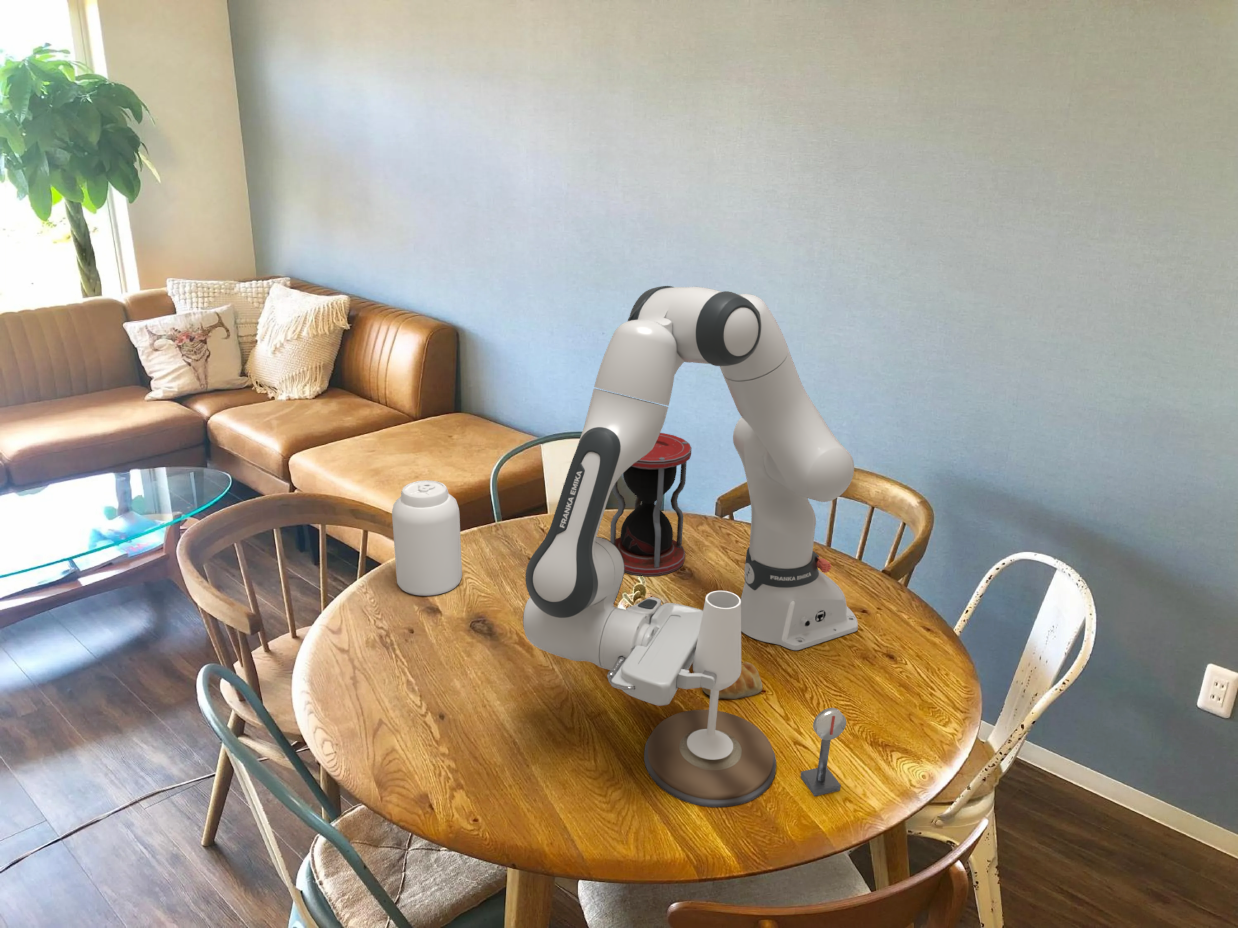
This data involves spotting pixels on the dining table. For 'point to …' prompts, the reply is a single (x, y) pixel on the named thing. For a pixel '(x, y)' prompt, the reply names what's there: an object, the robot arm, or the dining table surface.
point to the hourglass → (652, 510)
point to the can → (427, 539)
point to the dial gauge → (824, 752)
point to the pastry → (742, 684)
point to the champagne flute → (717, 666)
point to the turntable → (710, 761)
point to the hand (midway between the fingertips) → (723, 665)
